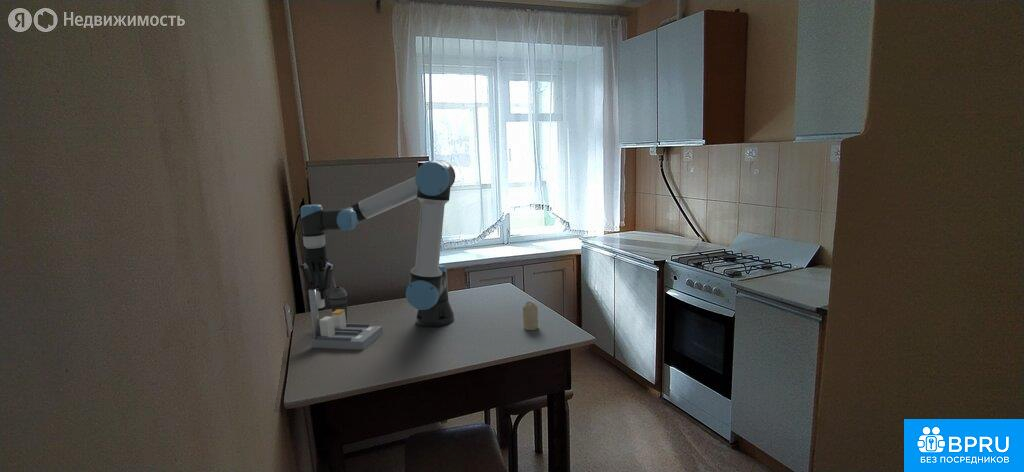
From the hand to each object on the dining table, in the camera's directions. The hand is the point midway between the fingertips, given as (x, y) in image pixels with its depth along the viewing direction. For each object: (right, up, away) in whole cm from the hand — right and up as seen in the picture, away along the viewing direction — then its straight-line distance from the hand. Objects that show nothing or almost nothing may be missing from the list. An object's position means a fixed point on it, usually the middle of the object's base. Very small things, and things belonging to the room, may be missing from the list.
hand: (321, 307), depth 181 cm
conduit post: (+2, -10, -8) cm, 13 cm away
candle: (+80, -8, 0) cm, 80 cm away
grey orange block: (+7, -8, 0) cm, 11 cm away
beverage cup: (+3, -9, +14) cm, 17 cm away
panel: (+12, -12, -4) cm, 17 cm away
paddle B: (+6, -9, -8) cm, 13 cm away
